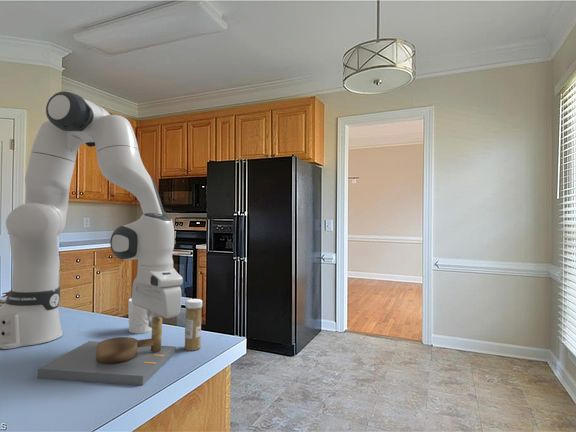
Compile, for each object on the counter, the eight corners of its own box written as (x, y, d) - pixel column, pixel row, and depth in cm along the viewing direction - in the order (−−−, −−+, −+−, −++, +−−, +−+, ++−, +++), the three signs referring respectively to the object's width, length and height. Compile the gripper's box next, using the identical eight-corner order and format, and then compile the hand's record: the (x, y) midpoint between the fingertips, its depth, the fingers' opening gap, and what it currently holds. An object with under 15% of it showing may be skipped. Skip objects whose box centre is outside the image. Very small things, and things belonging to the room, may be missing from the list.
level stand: (37, 377, 77) (37, 368, 77) (88, 348, 95) (89, 340, 95) (142, 385, 76) (143, 375, 76) (174, 354, 94) (175, 346, 94)
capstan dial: (96, 365, 79) (98, 330, 79) (95, 352, 87) (97, 319, 87) (164, 355, 87) (165, 322, 87) (157, 343, 95) (159, 313, 95)
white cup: (159, 328, 114) (160, 298, 114) (141, 335, 107) (143, 303, 107) (139, 325, 117) (140, 295, 117) (121, 332, 109) (122, 300, 110)
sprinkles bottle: (202, 349, 98) (204, 300, 98) (186, 352, 95) (188, 302, 96) (197, 344, 102) (199, 297, 102) (181, 346, 99) (183, 299, 99)
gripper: (126, 271, 97) (124, 321, 97) (163, 281, 83) (160, 340, 83) (148, 269, 102) (146, 316, 102) (186, 279, 88) (184, 334, 88)
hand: (153, 327), depth 92 cm, fingers closed
